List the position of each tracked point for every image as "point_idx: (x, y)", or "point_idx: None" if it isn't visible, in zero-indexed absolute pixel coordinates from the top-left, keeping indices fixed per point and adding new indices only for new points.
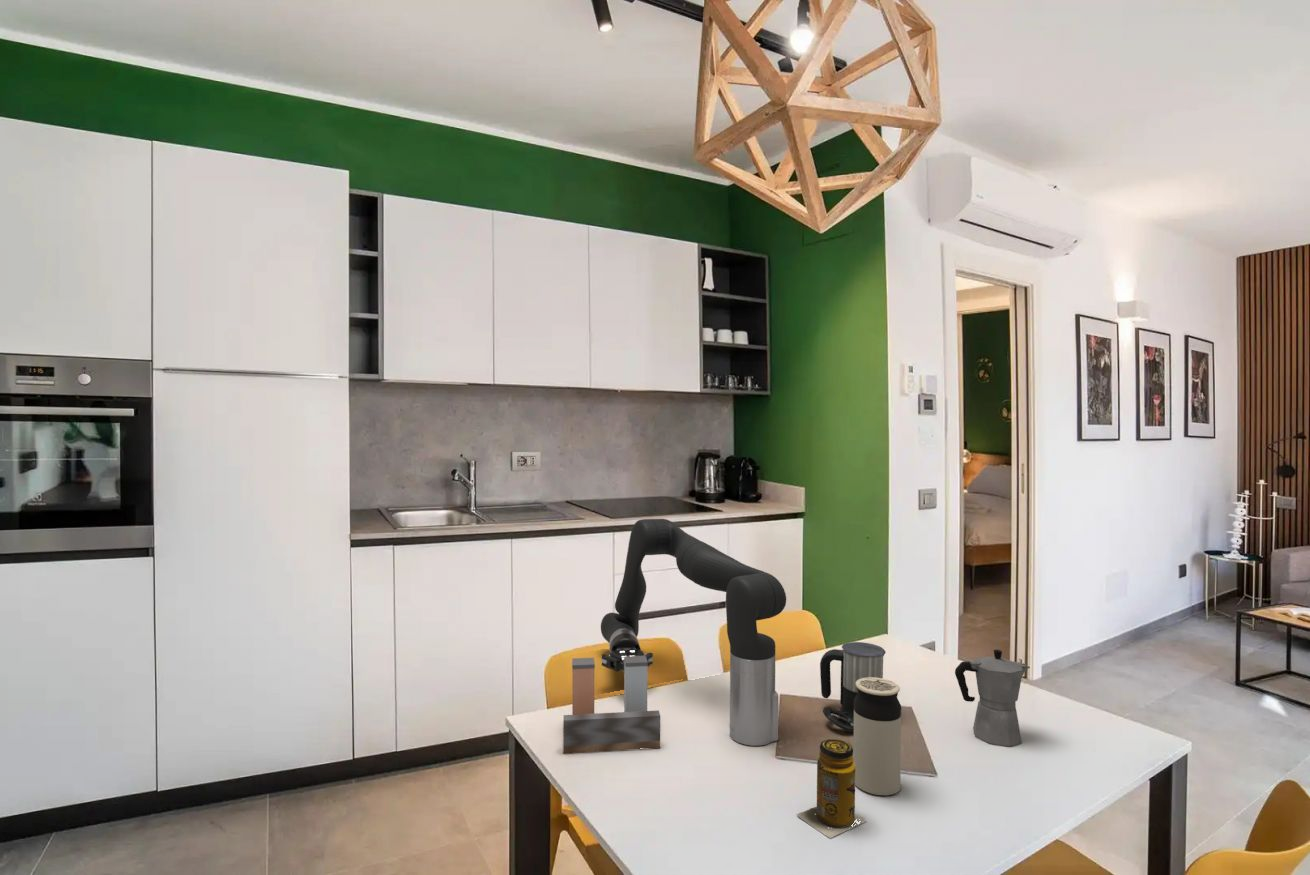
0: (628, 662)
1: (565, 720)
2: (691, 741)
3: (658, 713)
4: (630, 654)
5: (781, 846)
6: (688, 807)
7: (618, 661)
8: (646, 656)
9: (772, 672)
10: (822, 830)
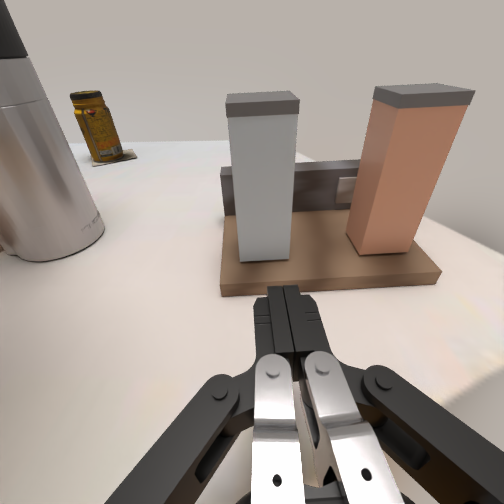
0: (281, 91)
1: None
2: (172, 228)
3: (222, 170)
4: (295, 472)
5: (168, 146)
6: (219, 161)
7: (369, 368)
8: (147, 468)
9: None
10: (131, 151)
